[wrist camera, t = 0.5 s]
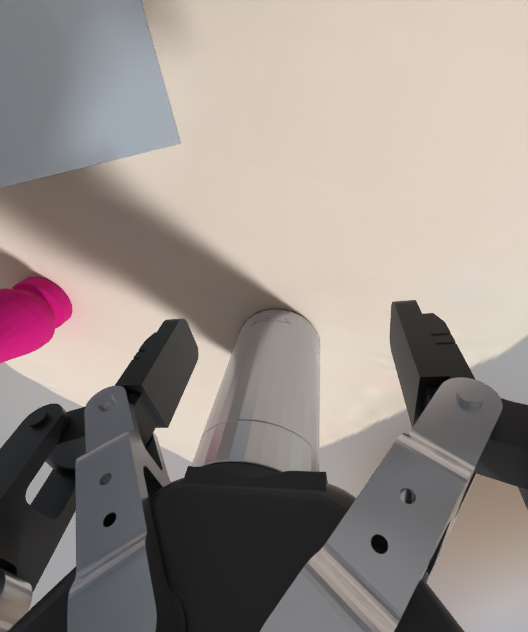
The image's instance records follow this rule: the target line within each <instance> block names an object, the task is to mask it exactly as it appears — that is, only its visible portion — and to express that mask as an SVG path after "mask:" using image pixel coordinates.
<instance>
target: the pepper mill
mask: <svg viewBox="0 0 528 632" xmlns="http://www.w3.org/2000/svg"><path fill="white" fill-rule="evenodd" d="M71 314H72V304H71V302H70V300H69V298H68V296H67V295H66V294H65V292H64V291H63V290H62V289H61V288H60V287H58V286H57V285H56V284H54V283H52V282H51V281H49V280H46V279H43V278H39V277H30V278H27V279H25V280H23V281H22V282H20V283H18V284H16V285H15V286H14V287H13V288H12V289H0V363H2V362H5V361H8V360H10V359H13V358H16V357H19V356H23V355H26V354H28V353H31V352H33V351H35V350H37V349H39V348H40V347H42V346H43V345H45V344H46V343H48V342H49V341H50V340H51V338H52V337H53V335H54V331H55V328H58V327H59V326H61V325H62V324H63V323H64V322H65V321H67V320H68V319H69V318H70V317H71Z"/></svg>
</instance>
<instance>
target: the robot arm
mask: <svg viewBox="0 0 528 632" xmlns="http://www.w3.org/2000/svg"><path fill="white" fill-rule="evenodd" d="M390 346H391V352H392V355H393V359H394V363H395V366H396V370H397V374H398V378H399V381H400V385H401V389H402V392H403V396H404V400H405V403H406V407H407V411H408V414H409V418H410V422H411V425H412V429H411V431H410V432H409V433H408V434H405V433H403V434H401V435H400V436H399V437H398V438H397V440H396V441H395V442H394V444H393V445H392V447H391V448H390V450H389V451H388V453H387V454H386V456H385V457H384V459H383V460H382V462H381V463H380V465H379V466H378V467H377V469H376V470H375V472H374V473H373V475H372V476H371V478H370V479H369V481H368V482H367V484H366V485H365V486H364V488H363V489H362V491H361V492H360V494H359V495H358V497H357V498H355V497H354V496H353V495H351V494H349V493H348V492H346V491H345V490H343V489H341V488H339V487H336V486H334V485H331V484H328V482H327V475H326V472H319V407H320V340H319V336H318V333H317V331H316V330H315V328H314V327H313V325H312V324H311V323H310V322H309V321H307V320H306V319H305V318H303V317H302V316H300V315H298V314H296V313H293V312H290V311H286V310H273V309H272V310H266V311H262V312H259V313H257V314H255V315H253V316H252V317H250V318H249V319H248V320H247V321H246V322H245V323H244V325H243V327H242V328H241V331H240V333H239V336H238V339H237V342H236V344H235V347H234V350H233V352H232V355H231V358H230V360H229V363H228V366H227V369H226V372H225V374H224V377H223V380H222V383H221V385H220V388H219V391H218V394H217V396H216V399H215V402H214V405H213V407H212V410H211V413H210V416H209V419H208V421H207V424H206V427H205V430H204V432H203V435H202V438H201V441H200V444H199V447H198V449H197V452H196V455H195V458H194V460H193V463H192V466H188V468H187V471H186V474H185V477H184V478H182V479H179V480H176V481H174V482H170V479H169V477H168V474H167V470H166V467H165V463H164V460H163V456H162V453H161V449H160V446H159V442H158V439H157V436H156V435H155V433H154V430H155V428H168V426H169V424H170V422H171V420H172V417H173V415H174V413H175V411H176V408H177V406H178V404H179V401H180V399H181V397H182V395H183V392H184V390H185V388H186V385H187V383H188V381H189V379H190V376H191V374H192V372H193V370H194V367H195V365H196V363H197V360H198V347H197V345H196V342H195V340H194V337H193V335H192V333H191V330H190V328H189V326H188V323H187V321H186V320H185V319H172V320H165V321H164V322H163V324H162V325H161V327H160V328H159V330H158V331H157V333H154V334H153V335H151V336H150V337H149V338H148V339H147V340H146V341H145V342H144V343H143V345H142V346H141V348H140V349H139V352H137V354H136V355H135V356H134V360H132V361H131V362H130V364H129V365H128V367H127V368H126V370H125V371H124V373H123V374H122V376H121V377H120V379H119V380H118V382H117V383H116V385H115V386H111V387H108V388H105V389H103V390H101V391H100V392H98V393H97V394H95V395H94V396H93V397H92V398H91V399H90V400H89V402H88V403H87V405H86V407H82V408H79V409H76V410H72V411H69V412H66V411H65V410H64V409H63V408H62V407H61V406H60V405H59V404H49V405H46V406H43V407H41V408H39V409H37V410H35V411H34V412H33V413H31V414H30V415H29V416H28V417H27V418H25V420H24V421H23V422H22V423H21V424H20V425H19V427H18V428H17V429H16V430H15V432H14V433H13V434H12V435H11V436H10V438H9V439H8V440H7V441H6V443H5V444H4V445H3V446H2V448H1V449H0V632H464V631H463V629H462V628H461V627H460V626H459V624H458V623H457V622H456V620H455V619H454V618H453V616H452V615H451V614H450V613H449V611H448V610H447V609H446V608H445V606H444V605H443V604H442V602H441V601H440V600H439V598H438V597H437V596H436V595H435V593H434V592H433V591H432V590H431V588H430V587H429V586H428V584H427V581H428V579H429V577H430V575H431V572H432V571H433V568H434V566H435V564H436V562H437V560H438V558H439V555H440V553H441V551H442V549H443V547H444V544H445V542H446V540H447V538H448V535H449V533H450V530H451V528H452V526H453V524H454V522H455V519H456V517H457V515H458V513H459V511H460V509H461V507H462V504H463V502H464V500H465V498H466V496H467V494H468V491H469V489H470V487H471V485H472V483H473V481H474V479H475V476H476V474H480V475H483V476H486V477H490V478H493V479H496V480H499V481H502V482H505V483H508V484H511V485H515V486H518V488H519V490H520V493H521V495H522V497H523V500H524V502H525V504H526V507H527V509H528V405H525V404H520V403H515V402H511V401H508V400H505V399H502V398H500V396H499V395H498V394H497V392H496V391H494V390H493V389H492V388H491V387H489V386H488V385H486V384H484V383H482V382H480V381H478V380H476V379H475V378H474V376H473V374H472V372H471V370H470V368H469V367H468V365H467V363H466V361H465V359H464V357H463V355H462V353H461V352H460V350H459V348H458V346H457V344H455V340H454V338H453V336H452V335H451V333H450V331H449V329H448V327H447V325H446V323H445V322H444V321H443V320H441V319H440V318H439V317H438V316H436V315H435V314H434V313H429V314H422V313H421V311H420V308H419V306H418V304H417V302H416V300H410V301H397V302H392V305H391V322H390ZM44 462H46V463H48V464H49V465H50V466H51V467H52V468H53V470H52V472H51V473H50V475H49V477H48V478H47V480H46V481H45V483H44V484H43V486H42V488H41V489H40V491H39V493H38V494H37V495H36V497H35V499H34V500H33V502H32V503H31V505H29V504H28V503H27V502H26V498H25V495H26V490H27V488H28V486H29V484H30V483H31V481H32V480H33V478H34V477H35V475H36V474H37V472H38V471H39V470H40V468H41V467H42V465H43V463H44ZM75 510H76V567H75V568H74V569H73V570H72V571H71V572H70V573H69V574H68V575H66V576H65V577H64V578H63V579H62V580H61V581H60V582H59V583H58V584H57V585H56V586H55V587H54V588H53V589H51V590H50V591H49V592H48V593H47V594H46V595H45V596H44V597H43V598H42V599H41V600H40V601H39V602H38V603H37V604H36V605H34V606H33V607H32V608H30V604H31V601H32V593H33V591H34V589H35V587H36V585H37V583H38V581H39V579H40V577H41V576H42V574H43V572H44V569H45V568H46V566H47V564H48V562H49V560H50V558H51V556H52V555H53V553H54V551H55V549H56V547H57V545H58V543H59V541H60V539H61V537H62V535H63V533H64V532H65V530H66V528H67V526H68V524H69V522H70V520H71V518H72V516H73V514H74V512H75Z"/></svg>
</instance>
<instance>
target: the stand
mask: <svg viewBox="0 0 528 632" xmlns="http://www.w3.org/2000/svg"><path fill="white" fill-rule="evenodd" d="M177 144H181V142H180V138H179V135H178V131H177V127H176V124H175V120H174V117H173V113H172V110H171V106H170V102H169V99H168V95H167V92H166V88H165V85H164V81H163V77H162V74H161V70H160V67H159V63H158V60H157V56H156V52H155V49H154V45H153V42H152V38H151V35H150V31H149V28H148V24H147V20H146V17H145V13H144V10H143V6H142V3H141V0H0V188H3V187H7V186H11V185H15V184H19V183H23V182H27V181H31V180H35V179H39V178H43V177H47V176H51V175H55V174H59V173H63V172H67V171H71V170H75V169H80V168H84V167H88V166H92V165H96V164H100V163H104V162H108V161H112V160H116V159H120V158H124V157H128V156H132V155H136V154H140V153H144V152H148V151H152V150H156V149H160V148H164V147H168V146H172V145H177Z"/></svg>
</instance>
